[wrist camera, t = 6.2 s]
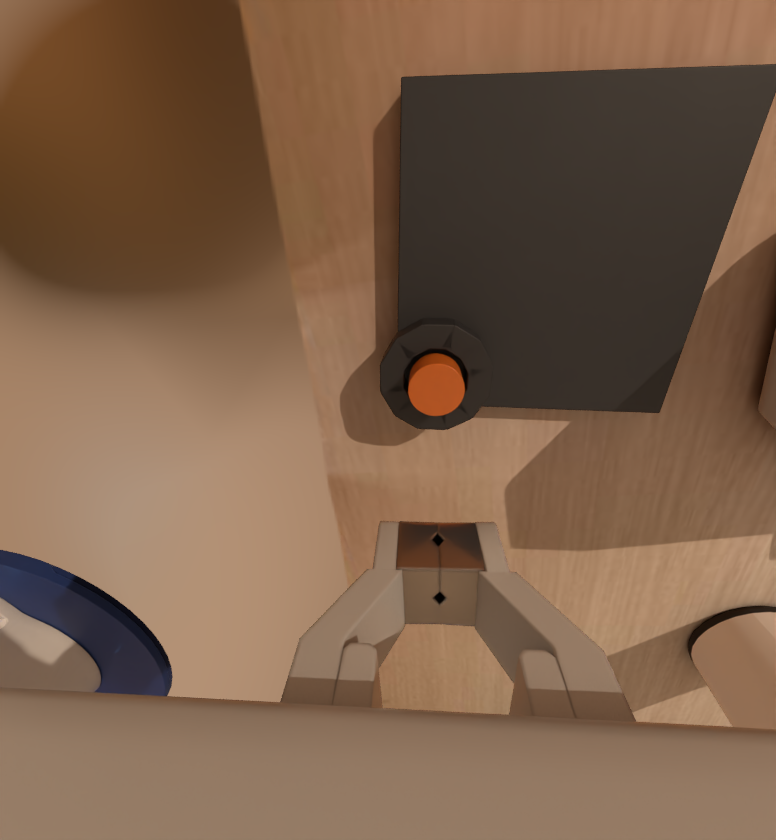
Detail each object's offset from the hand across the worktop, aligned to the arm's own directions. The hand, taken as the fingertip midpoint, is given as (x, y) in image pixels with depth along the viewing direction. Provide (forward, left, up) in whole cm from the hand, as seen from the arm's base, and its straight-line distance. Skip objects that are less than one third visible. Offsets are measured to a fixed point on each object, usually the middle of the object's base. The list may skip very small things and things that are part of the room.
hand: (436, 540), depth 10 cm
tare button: (0, +1, -10) cm, 10 cm away
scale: (+5, +6, -13) cm, 15 cm away
